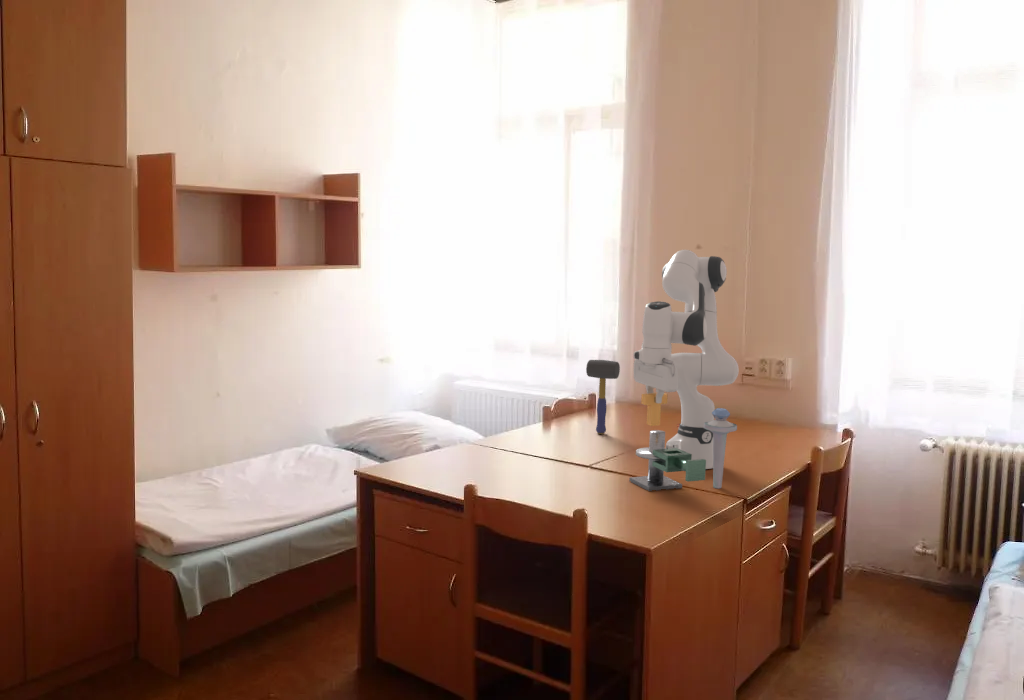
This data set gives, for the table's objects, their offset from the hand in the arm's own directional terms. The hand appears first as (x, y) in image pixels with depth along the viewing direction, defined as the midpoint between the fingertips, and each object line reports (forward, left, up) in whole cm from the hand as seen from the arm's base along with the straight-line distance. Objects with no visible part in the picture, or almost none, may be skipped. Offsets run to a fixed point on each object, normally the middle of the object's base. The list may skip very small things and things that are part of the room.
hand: (654, 401), depth 261 cm
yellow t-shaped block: (0, 0, -7) cm, 7 cm away
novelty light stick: (+1, +23, -28) cm, 37 cm away
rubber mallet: (-81, +25, -28) cm, 89 cm away
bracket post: (0, +6, -28) cm, 29 cm away
